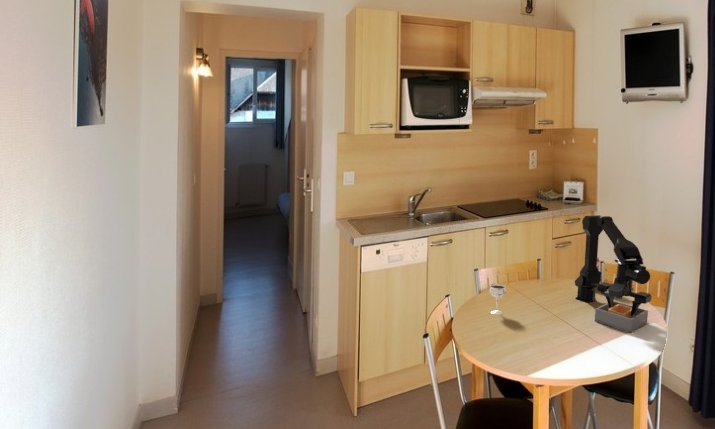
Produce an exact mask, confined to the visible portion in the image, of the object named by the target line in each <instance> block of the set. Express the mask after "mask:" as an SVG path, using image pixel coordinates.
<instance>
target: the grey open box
mask: <svg viewBox="0 0 715 429" xmlns="http://www.w3.org/2000/svg"><path fill="white" fill-rule="evenodd" d="M618 304H620V305H624V306H628V307H631V308H632V305H629V304H625V303H622V302H619V301H615V300H613V307H614V306H616V305H618ZM608 309H610V308H609V305H608V302H606V303H604V304H603V305H602V304H601V305H600V306H598V307H595V311H594V312H595V313H594V322H596V323H599V324H601V325H605V326H607V327H611V328H614V329H618V330H620V331H623V332H627V333H630V334H632V333H633V332H636V331H637V330H638V328H639V329H640V328H643V325H644V326H645V325H647V323H648V317H649V310H648V309H647V310H646V309H644V308H639V307H638V308H637V310H636V312H635V315H634V317H633V318H628V317H624V316H621V315H618V314H614V313H611V312H608Z"/></svg>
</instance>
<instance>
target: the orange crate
mask: <svg viewBox="0 0 715 429" xmlns="http://www.w3.org/2000/svg"><path fill="white" fill-rule="evenodd" d="M631 310H632V308H631V307H628V306H624V305H620V304H618V305H616V306H614V307H612V308H610V309H608V312H611V313H614V314H618V315H621V316H624V317H628V318H633V317H634V315H635V313H634V315H633V316H631Z"/></svg>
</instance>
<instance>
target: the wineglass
mask: <svg viewBox="0 0 715 429" xmlns="http://www.w3.org/2000/svg"><path fill="white" fill-rule="evenodd" d="M506 288H507V286H506V285H505V284H502V283H492V284H490V285H489V294H490V295H491V296H492V297H493V298H495V302H496V305H495V308H496V309H493V310H491V311H490V313H491V314H492V315H499V316H500V315H503V311H501V310H498V307H499V305H498V304H499V300H500V299H501V298H503V297H504V296H506V293H507V292H506V291H507V289H506Z"/></svg>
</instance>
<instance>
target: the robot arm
mask: <svg viewBox="0 0 715 429" xmlns="http://www.w3.org/2000/svg"><path fill="white" fill-rule="evenodd" d="M581 224H582V230H583V232H584V233H585V251H584V265H583V266H582V268H581V270H580V271H579V276H578V277H577V278H575V280H574V284H575V285H574V286H576V287H577V295H576V296H575V300H578V301H582V302H585V303H591V302H593V301H595V300H597V299H596V293H597V292H600V293H601V295H603V296H604V297H605V299H606V303H608V305H609V308H612V307H613V301H615V299H614V298H616V299H622V298H623V297H629V298H630V297H631V298H633V299H634V300H632V301H631V303H632V305H631V306H632V310H631V316H633V315H634V313H635V312H636V310H637V308H639V306H641V305H642V304H644V305H646V304H647V303H649V302H652V294H651V293H648V292H644V291H639V292H633V291H634V287H633V283H634V282H635V283H637V284H639V285H644V284H647V283H648V282H649V281H650V279H651V274H650V272H649V271H648V270H647V269H646V268H647V266H645V265H644V261H643V260H644V259H643V257H642V255H641V252H640V249H639V248H638V246H637V245H636V244H635V243H634V242H633V241H631V240H628V238H626V236H624V234H623V233H622V231H621V230H620V229H619V227H618V226H617V225H616V223H615V222H614V219H613V217H612V216H609V215H607V216H606V215H605V216H603V215H598V214H597V215H586V216H585V215H584V217H583V218H582V222H581ZM602 232H604V233H605V234H606V235H607V236H606V237H608V238H609V240H610V242H611V243H612V245H613V252H614V255H615V256H616V259H614V262H615V263H617V265H616V266H617V268H616V277H615V278H614V282H613V283H609V282H605V281H603V282H601V281H602V272H601V271H600V269H599V270H598V268H597V257H598V252H599V251H598V250H599V236H600V234H601V233H602ZM595 288H597V289H596V290H595Z"/></svg>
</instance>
